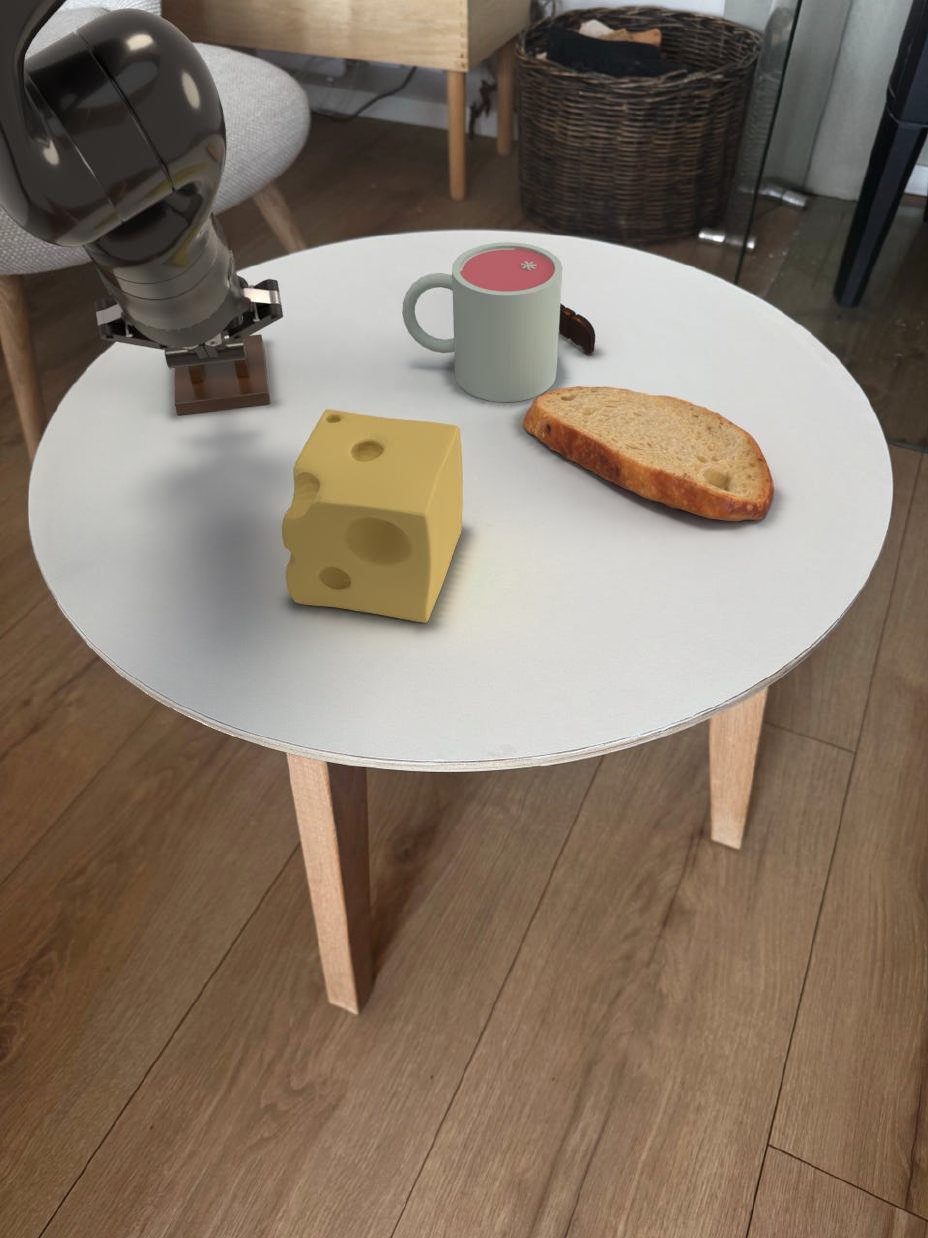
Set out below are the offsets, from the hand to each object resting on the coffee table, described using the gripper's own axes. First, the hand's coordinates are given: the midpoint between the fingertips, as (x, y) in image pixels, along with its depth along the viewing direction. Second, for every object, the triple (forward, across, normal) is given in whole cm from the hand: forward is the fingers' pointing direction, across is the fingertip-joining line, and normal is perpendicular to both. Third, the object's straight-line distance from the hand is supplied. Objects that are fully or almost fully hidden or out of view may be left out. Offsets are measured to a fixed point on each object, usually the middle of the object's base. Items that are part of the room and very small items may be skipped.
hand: (207, 344), depth 76 cm
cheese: (-6, -10, +19) cm, 23 cm away
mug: (+11, -23, +2) cm, 25 cm away
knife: (+17, -30, -3) cm, 34 cm away
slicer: (+13, 0, -1) cm, 13 cm away
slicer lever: (+4, 0, -4) cm, 6 cm away
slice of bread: (0, -33, +14) cm, 35 cm away
